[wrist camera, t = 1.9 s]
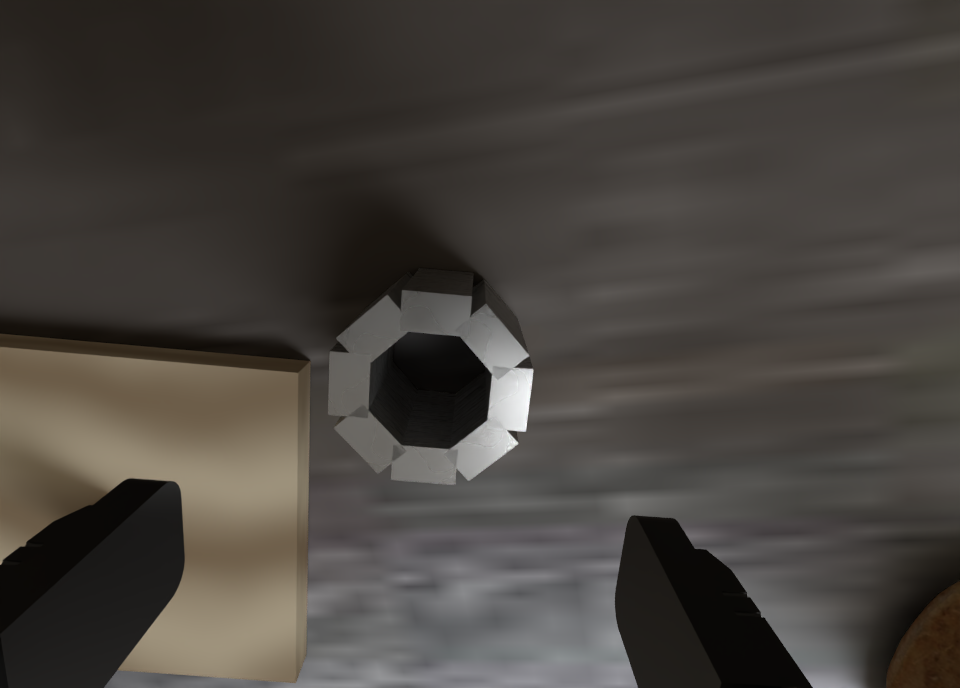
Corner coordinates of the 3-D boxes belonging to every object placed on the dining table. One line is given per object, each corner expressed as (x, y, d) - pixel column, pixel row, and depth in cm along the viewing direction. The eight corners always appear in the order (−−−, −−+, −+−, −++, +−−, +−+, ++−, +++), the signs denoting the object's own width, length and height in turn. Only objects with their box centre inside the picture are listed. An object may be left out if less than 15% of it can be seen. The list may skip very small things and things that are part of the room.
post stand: (-58, 328, 21) (-561, 452, 11) (310, 360, 21) (158, 510, 11) (-8, 631, 25) (-350, 937, 14) (306, 654, 25) (189, 968, 15)
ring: (366, 262, 20) (331, 283, 16) (526, 277, 21) (541, 302, 16) (360, 413, 22) (326, 474, 17) (509, 426, 22) (518, 490, 17)
